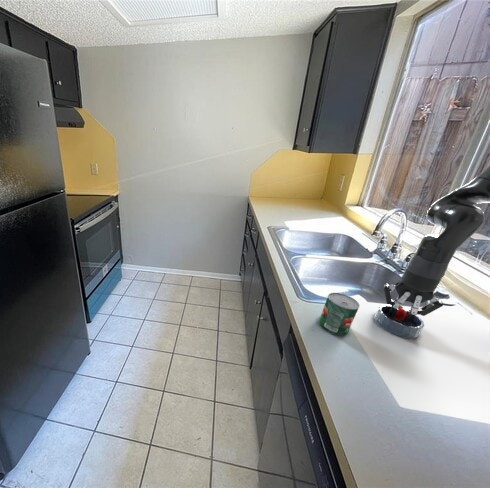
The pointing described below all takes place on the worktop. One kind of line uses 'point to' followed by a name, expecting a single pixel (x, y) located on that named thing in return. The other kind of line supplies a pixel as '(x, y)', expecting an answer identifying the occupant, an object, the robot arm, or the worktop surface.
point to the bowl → (397, 328)
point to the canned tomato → (338, 313)
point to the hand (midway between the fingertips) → (398, 319)
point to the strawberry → (400, 313)
